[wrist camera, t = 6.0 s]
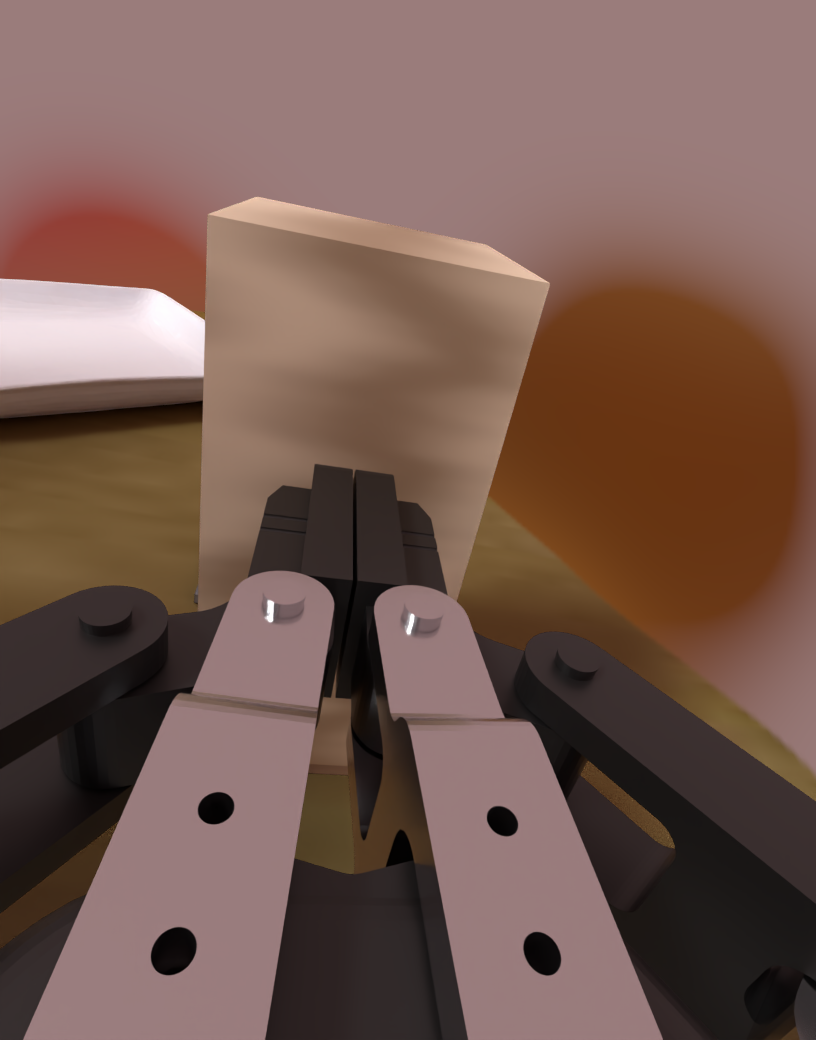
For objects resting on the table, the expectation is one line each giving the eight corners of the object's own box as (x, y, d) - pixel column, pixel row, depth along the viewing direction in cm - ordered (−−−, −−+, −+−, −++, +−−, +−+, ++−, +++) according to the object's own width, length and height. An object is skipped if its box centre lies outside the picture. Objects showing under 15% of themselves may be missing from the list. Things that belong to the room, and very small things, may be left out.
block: (193, 766, 17) (207, 214, 10) (231, 624, 22) (256, 196, 15) (404, 778, 18) (549, 283, 11) (392, 639, 23) (486, 244, 16)
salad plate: (283, 416, 41) (288, 367, 39) (-125, 461, 27) (-145, 389, 25) (157, 324, 53) (156, 284, 51) (-168, 324, 39) (-183, 269, 38)
